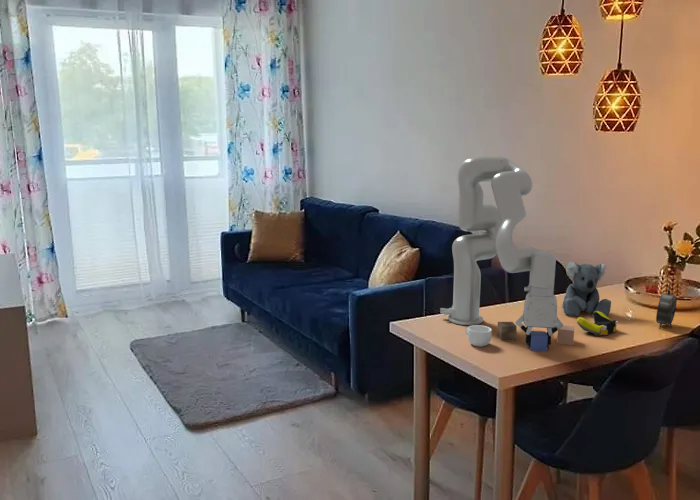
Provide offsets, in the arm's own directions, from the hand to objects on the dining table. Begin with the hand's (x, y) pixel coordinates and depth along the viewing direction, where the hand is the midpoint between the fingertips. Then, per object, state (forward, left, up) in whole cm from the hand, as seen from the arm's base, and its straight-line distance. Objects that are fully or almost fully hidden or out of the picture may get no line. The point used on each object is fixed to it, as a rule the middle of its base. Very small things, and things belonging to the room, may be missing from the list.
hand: (537, 345), depth 211 cm
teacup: (-19, +2, -1) cm, 19 cm away
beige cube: (+10, +8, -1) cm, 13 cm away
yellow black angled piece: (+23, +22, -1) cm, 32 cm away
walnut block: (-9, +9, -1) cm, 13 cm away
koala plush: (+23, +47, -1) cm, 52 cm away
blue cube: (0, 0, -1) cm, 1 cm away
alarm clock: (+49, +31, -1) cm, 58 cm away
